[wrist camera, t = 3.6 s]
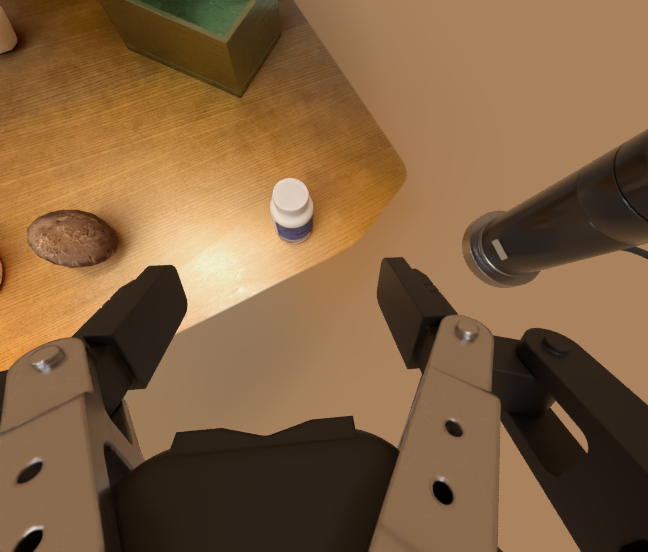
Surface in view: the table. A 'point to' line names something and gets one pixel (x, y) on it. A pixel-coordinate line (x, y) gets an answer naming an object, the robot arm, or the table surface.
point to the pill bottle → (292, 210)
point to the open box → (201, 36)
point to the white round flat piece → (0, 272)
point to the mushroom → (72, 238)
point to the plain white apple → (6, 33)
